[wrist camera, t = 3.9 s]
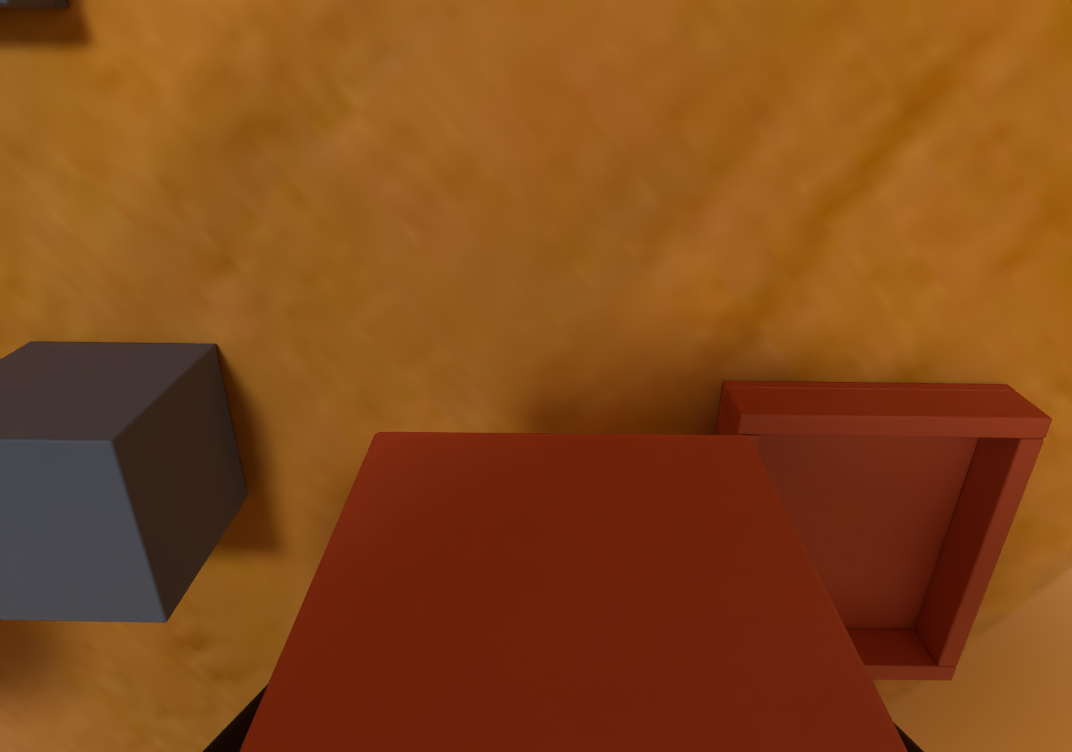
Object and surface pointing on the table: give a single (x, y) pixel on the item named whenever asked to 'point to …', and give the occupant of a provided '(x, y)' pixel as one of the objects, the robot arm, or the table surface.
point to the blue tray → (33, 4)
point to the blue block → (111, 478)
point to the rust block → (567, 607)
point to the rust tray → (895, 501)
